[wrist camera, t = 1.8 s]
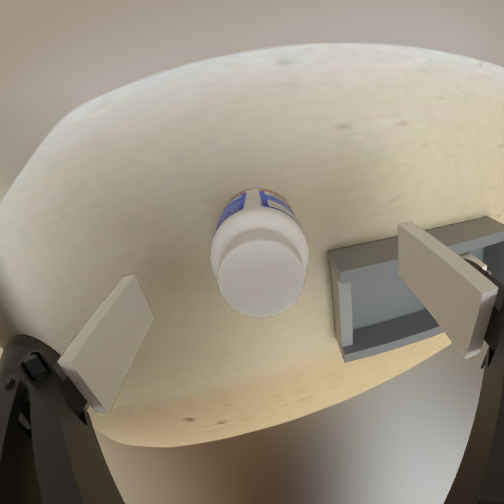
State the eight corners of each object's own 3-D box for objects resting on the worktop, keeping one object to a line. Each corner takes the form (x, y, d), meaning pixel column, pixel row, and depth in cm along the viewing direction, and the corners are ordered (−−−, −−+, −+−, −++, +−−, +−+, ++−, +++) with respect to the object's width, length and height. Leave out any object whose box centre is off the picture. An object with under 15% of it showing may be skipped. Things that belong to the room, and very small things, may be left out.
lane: (335, 336, 26) (347, 370, 22) (327, 251, 23) (344, 278, 18) (478, 292, 24) (501, 314, 20) (487, 216, 21) (518, 232, 17)
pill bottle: (229, 259, 23) (215, 337, 14) (215, 193, 21) (186, 237, 12) (297, 249, 23) (323, 322, 14) (288, 181, 21) (314, 216, 12)
